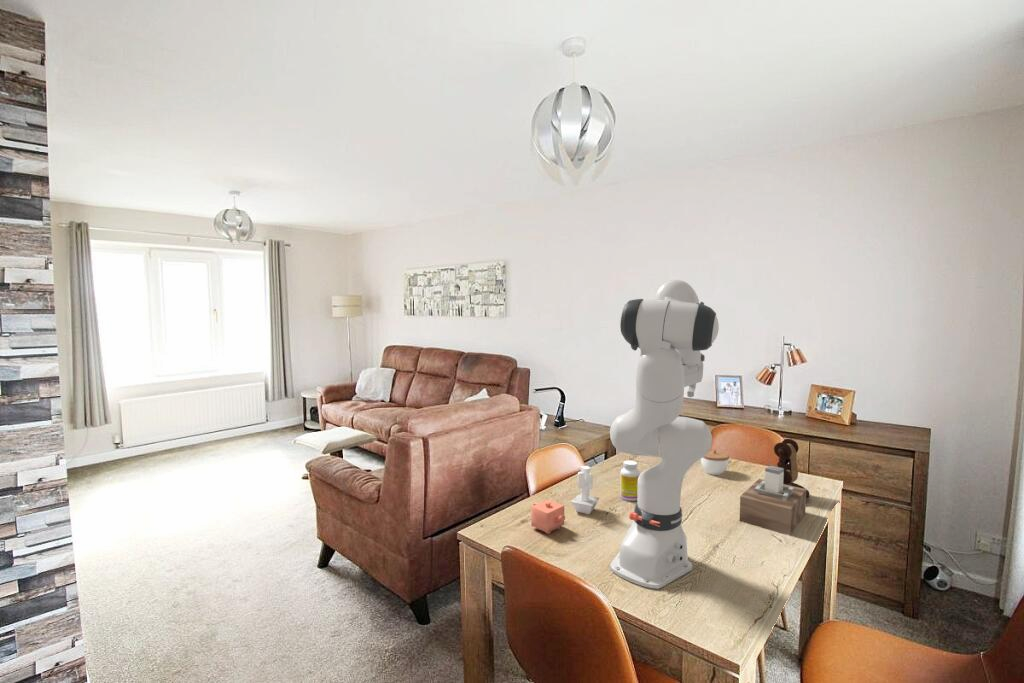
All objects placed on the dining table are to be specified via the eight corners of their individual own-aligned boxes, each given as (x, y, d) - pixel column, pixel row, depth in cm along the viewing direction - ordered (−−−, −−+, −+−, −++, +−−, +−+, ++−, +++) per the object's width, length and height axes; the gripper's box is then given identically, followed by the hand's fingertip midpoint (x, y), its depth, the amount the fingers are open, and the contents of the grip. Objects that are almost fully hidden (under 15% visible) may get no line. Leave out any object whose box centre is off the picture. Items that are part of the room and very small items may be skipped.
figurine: (600, 507, 158) (600, 464, 157) (590, 518, 150) (590, 472, 149) (580, 502, 162) (580, 460, 161) (569, 513, 154) (569, 469, 152)
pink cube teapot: (556, 540, 137) (556, 513, 136) (526, 526, 145) (526, 500, 144) (572, 531, 142) (572, 504, 141) (543, 518, 151) (543, 493, 150)
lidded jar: (733, 477, 184) (734, 454, 183) (706, 477, 184) (706, 454, 183) (721, 467, 195) (722, 445, 194) (695, 468, 195) (696, 446, 194)
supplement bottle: (640, 502, 162) (640, 466, 161) (620, 501, 163) (620, 465, 162) (638, 494, 168) (639, 459, 167) (620, 493, 170) (620, 458, 169)
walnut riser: (789, 535, 138) (791, 504, 137) (739, 520, 147) (740, 491, 146) (805, 513, 152) (806, 484, 151) (758, 501, 162) (759, 474, 161)
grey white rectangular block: (778, 496, 146) (778, 471, 146) (764, 492, 149) (765, 468, 149) (782, 492, 149) (783, 468, 148) (769, 489, 152) (770, 465, 151)
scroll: (800, 508, 156) (803, 449, 154) (754, 495, 167) (756, 440, 165) (815, 496, 165) (817, 441, 164) (770, 484, 176) (772, 432, 175)
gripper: (681, 361, 144) (680, 405, 145) (706, 355, 159) (706, 395, 160) (662, 359, 148) (661, 402, 149) (688, 354, 163) (687, 393, 164)
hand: (684, 398), depth 155 cm, fingers open, 8 cm apart
